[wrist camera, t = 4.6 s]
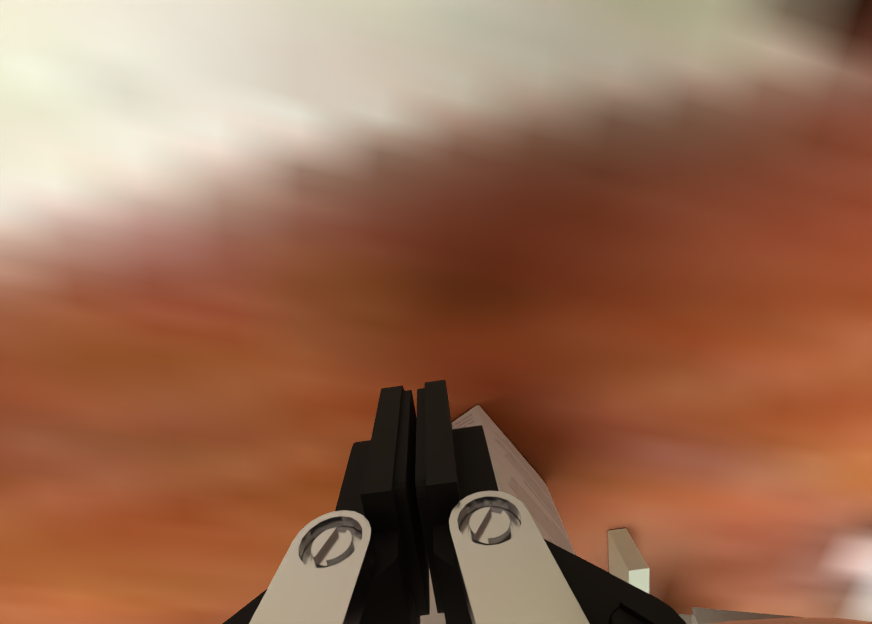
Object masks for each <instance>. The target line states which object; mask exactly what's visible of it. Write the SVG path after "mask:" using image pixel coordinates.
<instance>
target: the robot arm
mask: <svg viewBox="0 0 872 624" xmlns="http://www.w3.org/2000/svg"><path fill="white" fill-rule="evenodd" d="M429 569H430V575H431V580H432V586H433V591H434V597H435V603H436V608H437V613H444V615H445V621H446V624H872V622H868V621H859V620H850V619H841V618H804V617H793V616H782V615H771V614H760V613H749V612H738V611H728V610H717V609H706V608H695V607H692V615H682V614H677V613H676V612H675V611H674V610H673V609H672V608H671V607H670V606H668V605H667V604H665V603H664V602H662V601H661V600H659V599H658V598H656V597H654V596H652V595H650V594H648V593H646V592H645V591H643V590H641V589H639V588H637V587H635V586H633V585H631V584H629V583H627V582H626V581H624V580H622V579H620V578H618V577H616V576H614V575H612V574H610V573H608V572H606V571H605V570H603V569H601V568H599V567H597V566H595V565H593V564H591V563H589V562H587V561H586V560H584V559H582V558H580V557H578V556H576V555H574V554H572V553H570V552H568V551H566V550H565V549H563V548H561V547H559V546H557V545H555V544H553V543H551V542H549V541H547V540H546V539H544V538H543V537H542V535H541V533H540V531H539V530H538V528H537V526H536V524H535V522H534V520H533V518H532V517H531V515H530V513H529V511H528V509H527V508H526V507H525V506H524V504H523V503H522V502H521V501H520V500H518V499H517V498H515V497H514V496H512V495H510V494H507V493H504V492H500V491H499V490H498V486H497V482H496V478H495V474H494V470H493V466H492V462H491V458H490V454H489V450H488V446H487V442H486V438H485V434H484V430H483V426H482V425H479V426H472V427H464V428H457V429H452V423H451V416H450V409H449V402H448V395H447V388H446V381H445V380H440V381H433V382H426V383H425V388H423V389H417V419H416V413H415V407H414V401H413V395H412V391H411V390H408V391H404V388H403V386H397V387H390V388H382V389H381V393H380V398H379V403H378V408H377V413H376V418H375V423H374V428H373V433H372V438H371V440H369V441H362V442H355V443H354V444H353V446H352V450H351V453H350V457H349V461H348V465H347V468H346V472H345V476H344V480H343V483H342V487H341V491H340V495H339V498H338V502H337V506H336V510H335V512H331V513H328V514H325V515H322V516H320V517H318V518H317V519H315V520H313V521H311V522H310V523H309V524H308V525H306V526H305V527H304V528H303V529H302V530H301V531H300V532H299V533H298V535H297V536H296V538H295V539H294V540H293V542H292V544H291V546H290V548H289V550H288V551H287V553H286V555H285V557H284V559H283V561H282V563H281V565H280V566H279V568H278V570H277V572H276V574H275V576H274V578H273V580H272V581H271V583H270V585H269V587H268V589H267V590H265V591H264V592H263V593H261V594H260V595H259V596H258V597H256V598H255V599H254V600H252V601H251V602H250V603H249V604H247V605H246V606H245V607H243V608H242V609H241V610H240V611H238V612H237V613H236V614H235V615H233V616H232V617H231V618H229V619H228V620H227V621H226V622H224V623H223V624H420V616H423V615H429V614H430V589H429Z"/></svg>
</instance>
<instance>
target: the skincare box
mask: <svg viewBox="0 0 872 624" xmlns="http://www.w3.org/2000/svg"><path fill="white" fill-rule="evenodd" d="M479 425H482V426H483V430H484V434H485V438H486V442H487V446H488V450H489V454H490V458H491V462H492V466H493V470H494V474H495V478H496V482H497V486H498V490H499V491H500V492H504V493H507V494H510V495H512V496H514V497H515V498H517V499H518V500H520V501H521V502H522V503H523V504H524V506H525V507H526V508H527V509H528V511H529V513H530V515H531V517H532V518H533V520H534V522H535V524H536V526H537V528H538V530H539V531H540V533H541V535H542V537H543V538H544V539H546V540H547V541H549V542H551V543H553V544H555V545H557V546H559V547H561V548H563V549H565V550H566V551H568V552H570V553H572V554H574V555H576V554H575V552H574V549H573V547H572V544H571V542H570V540H569V537H568V535H567V532H566V530H565V528H564V525H563V523H562V521H561V518H560V516H559V514H558V511H557V509H556V507H555V504H554V502H553V499H552V497H551V494H550V492H549V489H548V487H547V485H546V484H545V482H544V481H543V480H542V479H541V477H540V476H539V475H538V474H537V473H536V471H535V470H534V469H533V468H532V467H531V465H530V464H529V463H528V462H527V461H526V460H525V458H524V457H523V456H522V455H521V454H520V452H519V451H518V450H517V449H516V448H515V447H514V445H513V444H512V443H511V442H510V441H509V439H508V438H507V437H506V436H505V435H504V434H503V433H502V431H501V430H500V429H499V428H498V427H497V426H496V424H495V423H494V422H493V421H492V420H491V419H490V417H489V416H488V415H487V414H486V413H485V412H484V410H483V409H482V408H481V407H480V405H476V406H475V407H473V408H472V409H470V410H469V411H468V412H466V413H465V414H463V415H462V416H460V417H459V418H458V419H456V420H455V421H453V422H452V429H457V428H464V427H472V426H479ZM429 589H430V614H429V615H423V616H420V624H446V621H445V615H444V613H437V608H436V603H435V597H434V591H433V586H432V580H431V575H430V569H429Z"/></svg>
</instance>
